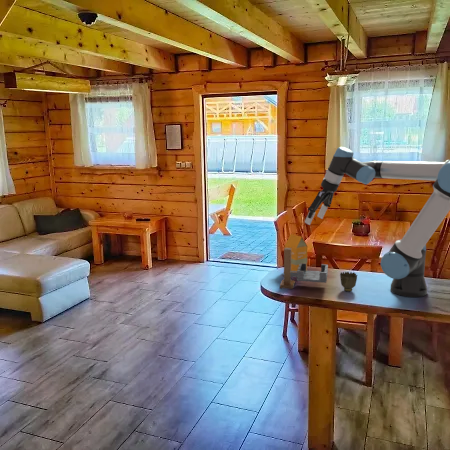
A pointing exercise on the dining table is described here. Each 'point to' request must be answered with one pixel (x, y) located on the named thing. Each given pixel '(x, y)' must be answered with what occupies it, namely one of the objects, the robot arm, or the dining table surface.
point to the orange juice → (297, 251)
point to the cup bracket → (301, 272)
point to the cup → (348, 280)
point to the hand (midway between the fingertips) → (313, 220)
